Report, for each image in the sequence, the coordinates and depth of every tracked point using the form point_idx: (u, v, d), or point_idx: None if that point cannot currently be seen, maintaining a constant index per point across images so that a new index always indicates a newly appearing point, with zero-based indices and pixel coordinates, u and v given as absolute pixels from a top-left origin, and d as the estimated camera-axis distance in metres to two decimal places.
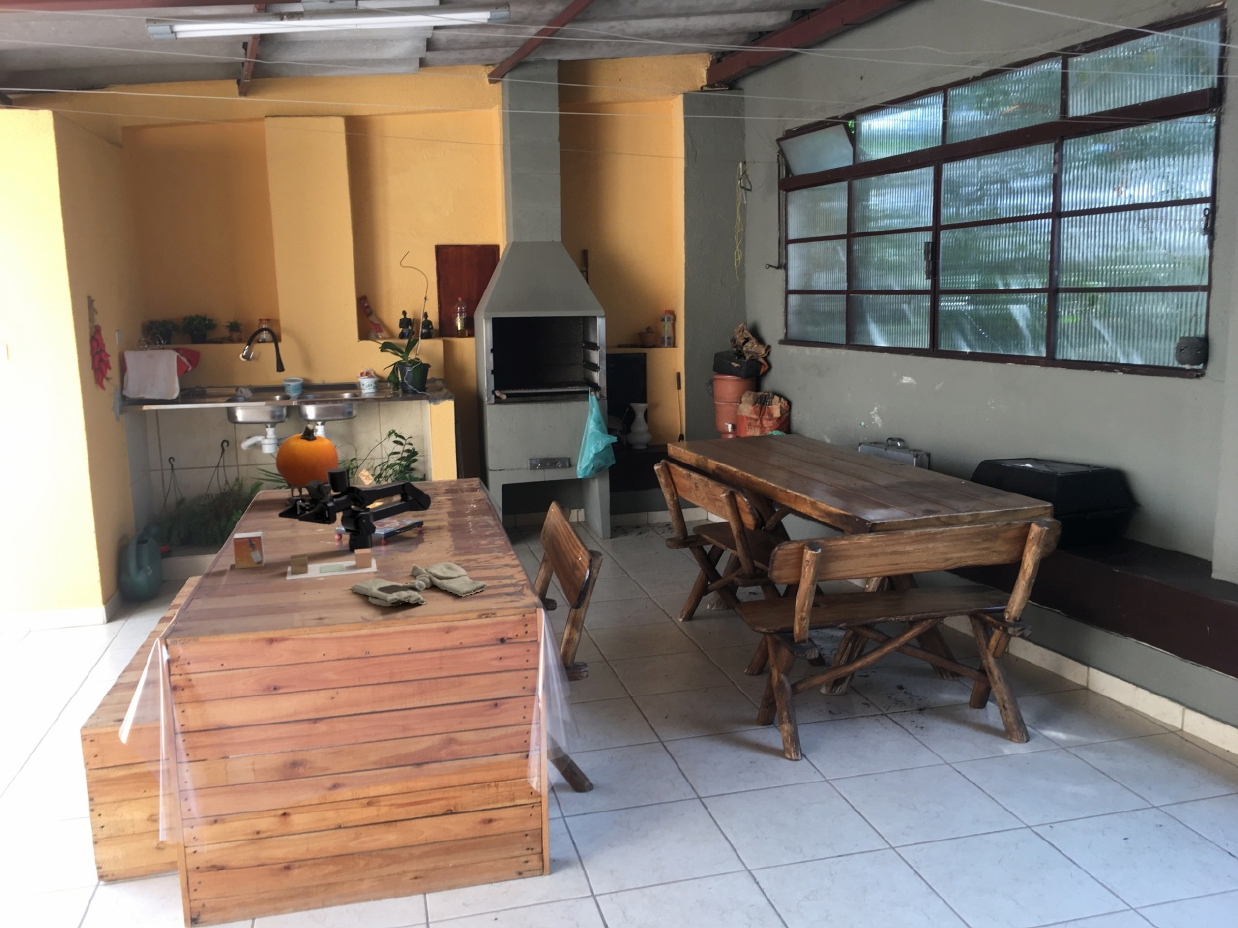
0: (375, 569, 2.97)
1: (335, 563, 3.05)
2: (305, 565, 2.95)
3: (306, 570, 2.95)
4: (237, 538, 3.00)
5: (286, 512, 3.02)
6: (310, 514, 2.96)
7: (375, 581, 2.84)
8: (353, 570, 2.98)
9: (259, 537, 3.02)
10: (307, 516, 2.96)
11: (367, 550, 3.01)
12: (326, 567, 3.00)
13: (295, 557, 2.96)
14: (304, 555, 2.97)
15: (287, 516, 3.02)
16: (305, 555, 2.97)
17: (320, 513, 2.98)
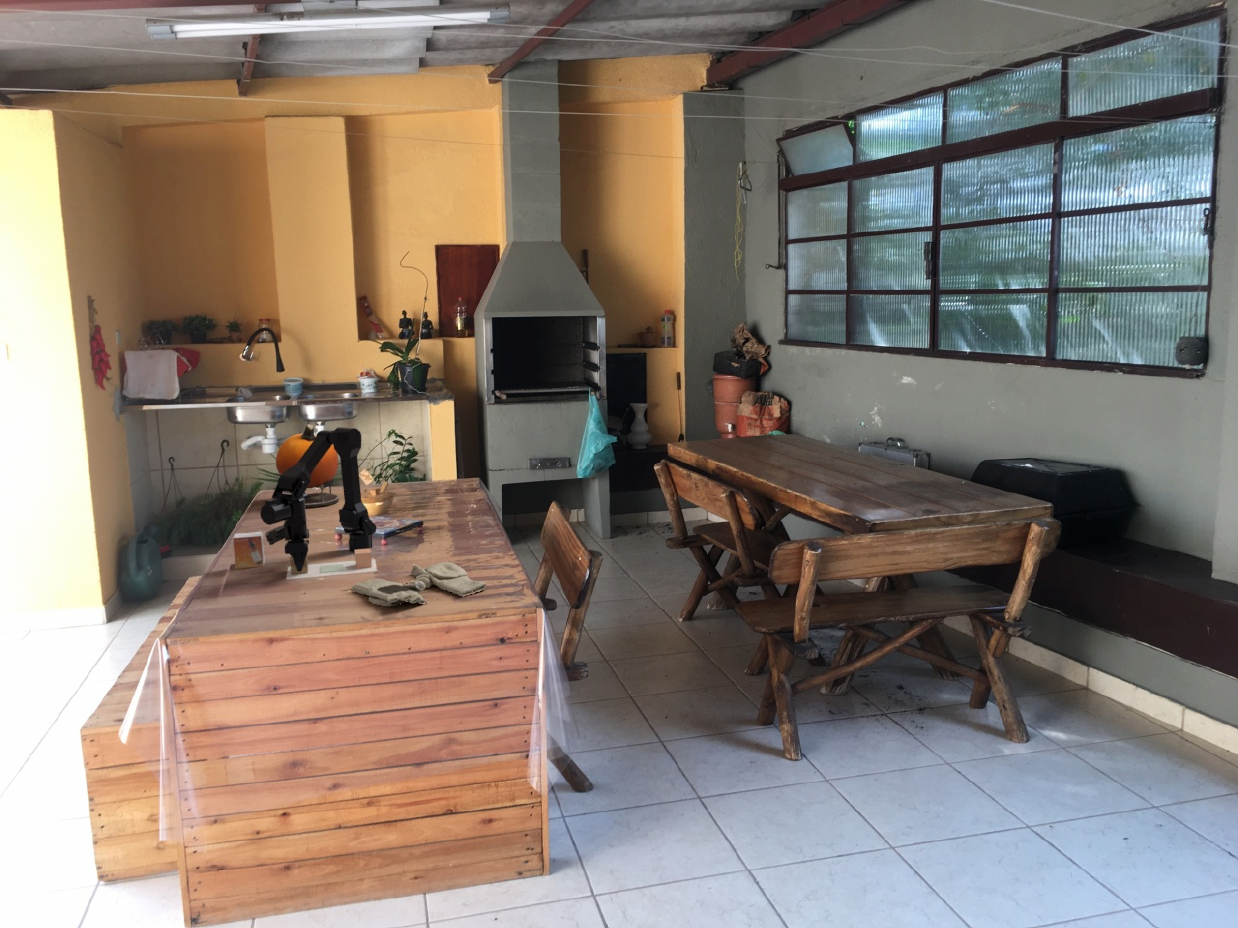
0: (375, 569, 2.97)
1: (335, 563, 3.05)
2: (305, 565, 2.95)
3: (306, 570, 2.95)
4: (237, 538, 3.00)
5: None
6: (296, 561, 2.93)
7: (375, 581, 2.84)
8: (353, 570, 2.98)
9: (259, 537, 3.02)
10: (297, 563, 2.93)
11: (367, 550, 3.01)
12: (326, 567, 3.00)
13: None
14: None
15: None
16: None
17: None
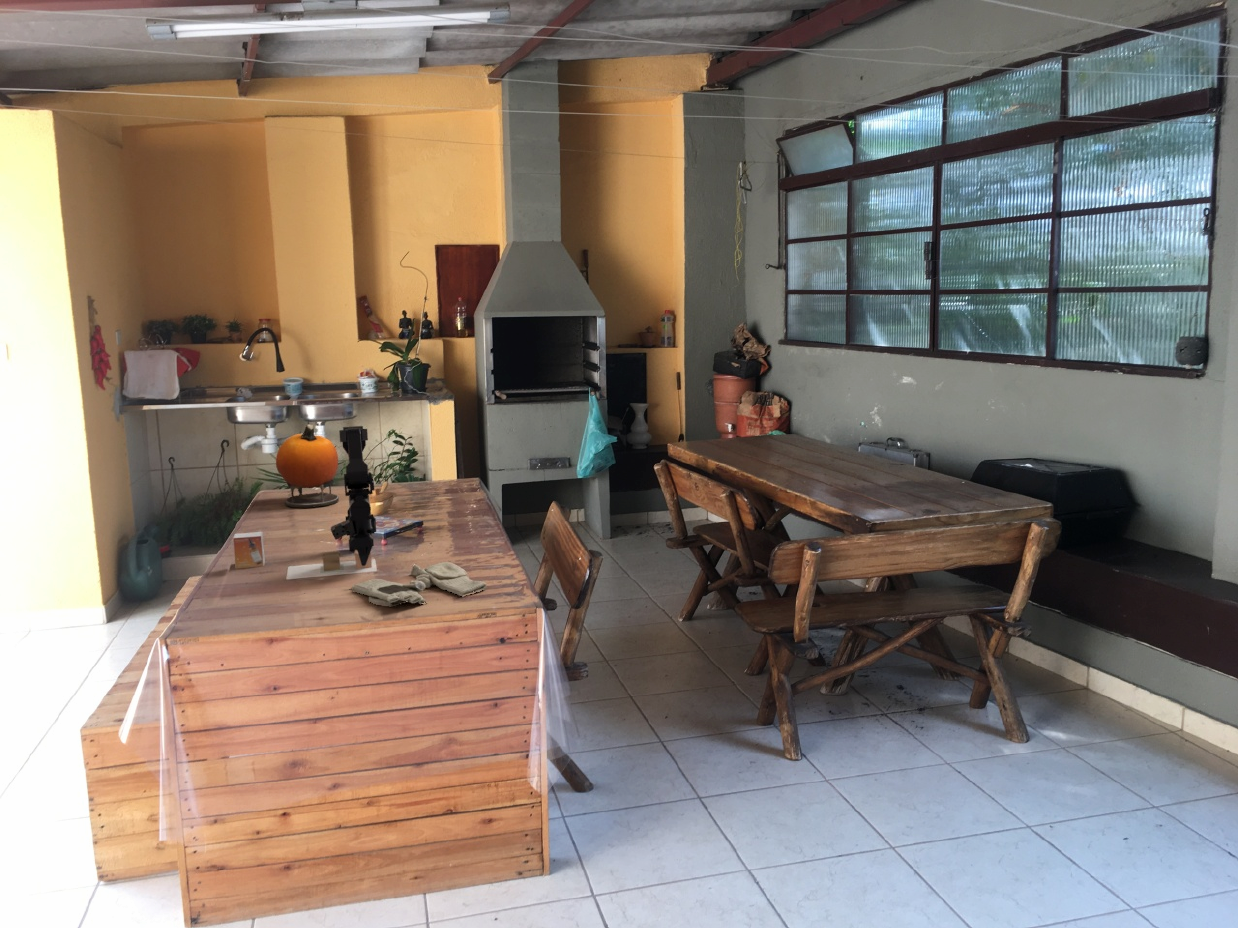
0: (375, 569, 2.97)
1: None
2: (337, 561, 2.97)
3: (338, 566, 2.98)
4: (237, 538, 3.00)
5: None
6: (360, 555, 2.97)
7: (375, 581, 2.84)
8: (353, 570, 2.98)
9: (259, 537, 3.02)
10: (362, 558, 2.98)
11: None
12: None
13: (327, 553, 2.98)
14: (336, 551, 3.00)
15: None
16: (337, 552, 2.99)
17: None
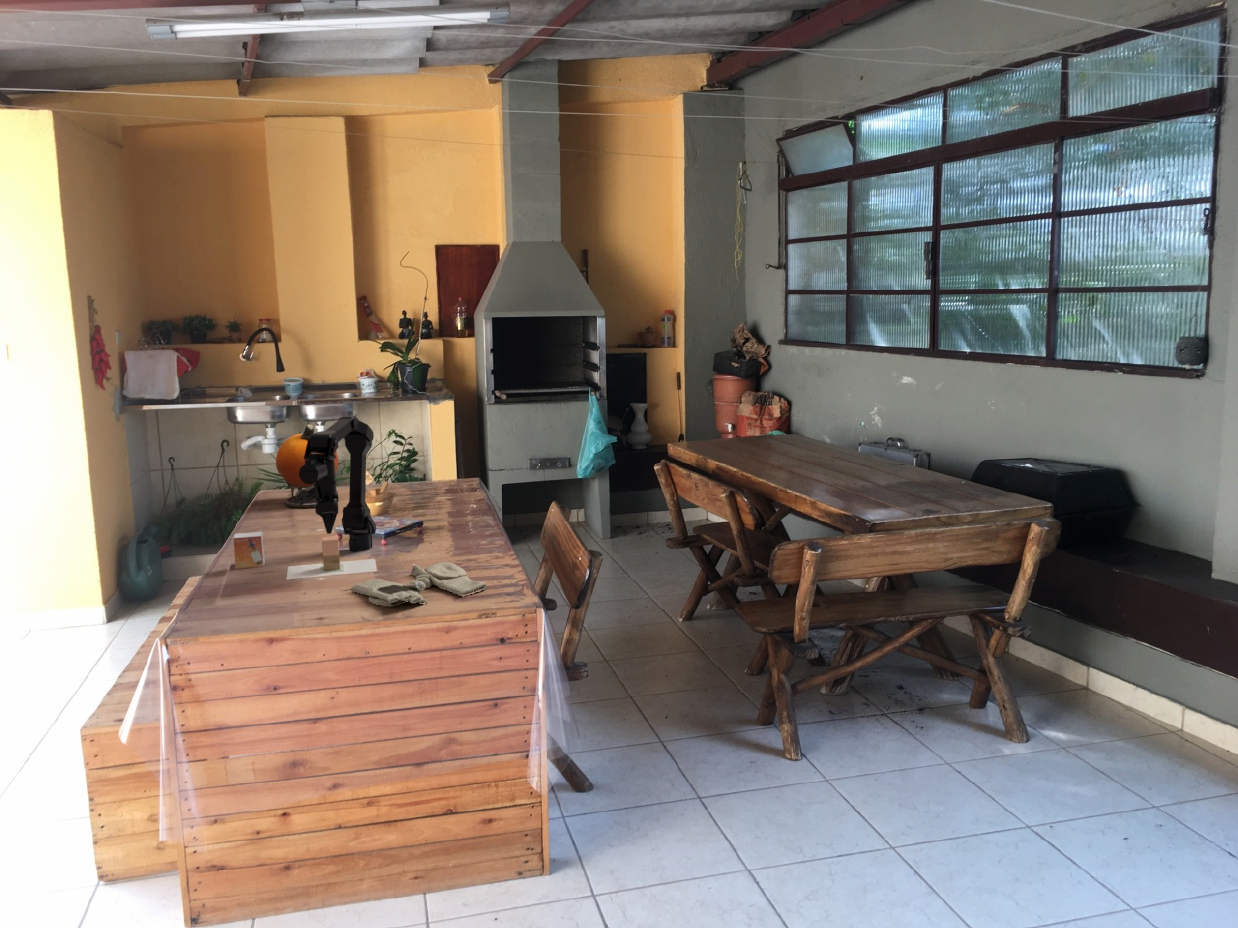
0: (375, 569, 2.97)
1: None
2: (337, 561, 2.97)
3: (338, 566, 2.98)
4: (237, 538, 3.00)
5: None
6: (325, 523, 2.91)
7: (375, 581, 2.84)
8: (353, 570, 2.98)
9: (259, 537, 3.02)
10: (327, 525, 2.91)
11: (334, 537, 2.98)
12: None
13: None
14: None
15: None
16: None
17: None
